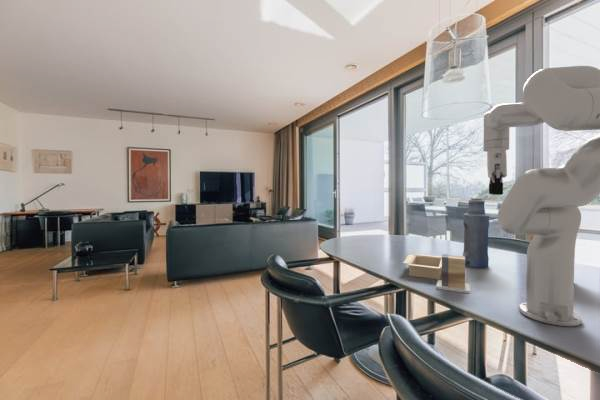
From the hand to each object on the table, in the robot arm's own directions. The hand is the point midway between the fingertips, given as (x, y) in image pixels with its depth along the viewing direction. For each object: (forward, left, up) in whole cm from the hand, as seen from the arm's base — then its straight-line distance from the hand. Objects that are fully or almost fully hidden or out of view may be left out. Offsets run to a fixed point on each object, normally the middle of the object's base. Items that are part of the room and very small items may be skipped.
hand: (495, 194), depth 100 cm
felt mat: (-11, +13, -32) cm, 37 cm away
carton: (+4, +23, -32) cm, 40 cm away
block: (-11, +13, -32) cm, 36 cm away
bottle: (+24, +5, -32) cm, 41 cm away
